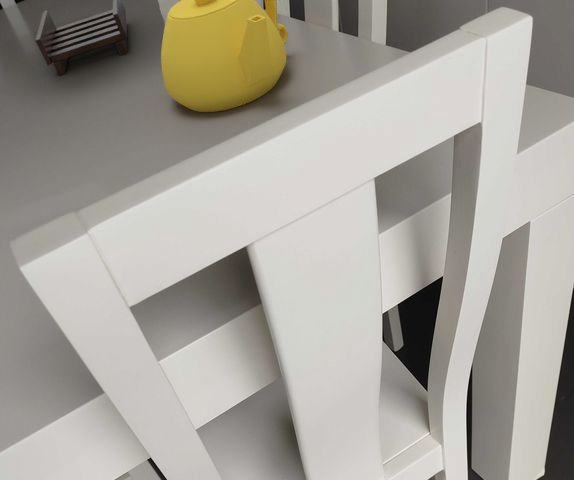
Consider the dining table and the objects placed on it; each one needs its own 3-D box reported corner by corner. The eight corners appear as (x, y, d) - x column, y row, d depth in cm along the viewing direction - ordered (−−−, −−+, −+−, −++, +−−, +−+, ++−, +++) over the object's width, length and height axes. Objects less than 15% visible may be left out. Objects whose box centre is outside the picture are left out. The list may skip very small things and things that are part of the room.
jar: (172, 42, 98) (143, -40, 89) (218, 27, 98) (194, -57, 89) (176, 60, 92) (146, -26, 83) (226, 44, 92) (201, -45, 83)
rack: (53, 77, 100) (35, 40, 95) (59, 45, 111) (43, 11, 107) (132, 51, 99) (117, 13, 95) (130, 22, 111) (116, -13, 107)
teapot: (152, 100, 83) (113, 2, 74) (258, 44, 88) (234, -54, 79) (227, 137, 70) (190, 23, 61) (345, 69, 75) (328, -44, 66)
